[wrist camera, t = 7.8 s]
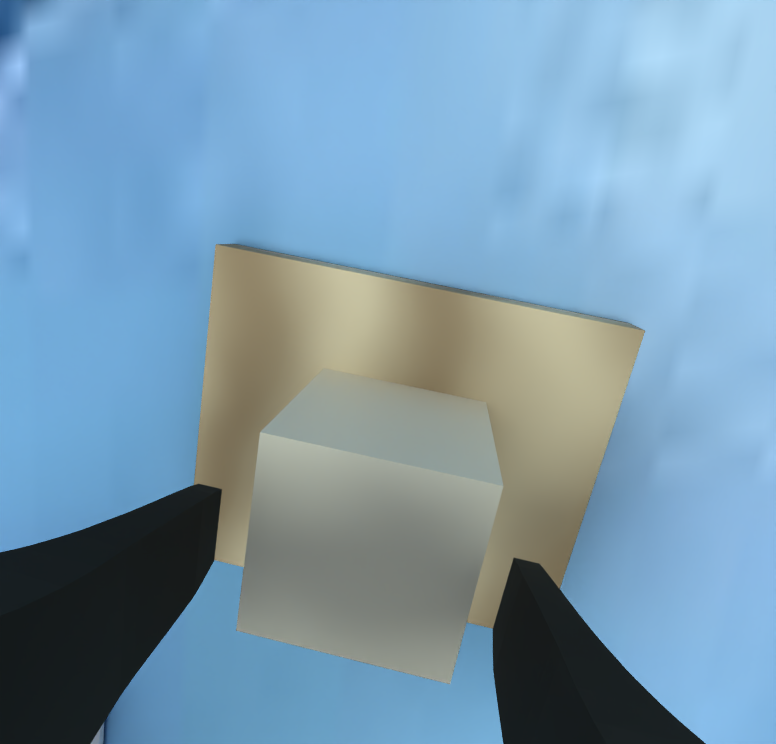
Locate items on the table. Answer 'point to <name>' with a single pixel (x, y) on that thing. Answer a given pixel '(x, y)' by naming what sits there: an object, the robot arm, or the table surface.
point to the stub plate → (421, 370)
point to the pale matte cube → (370, 523)
